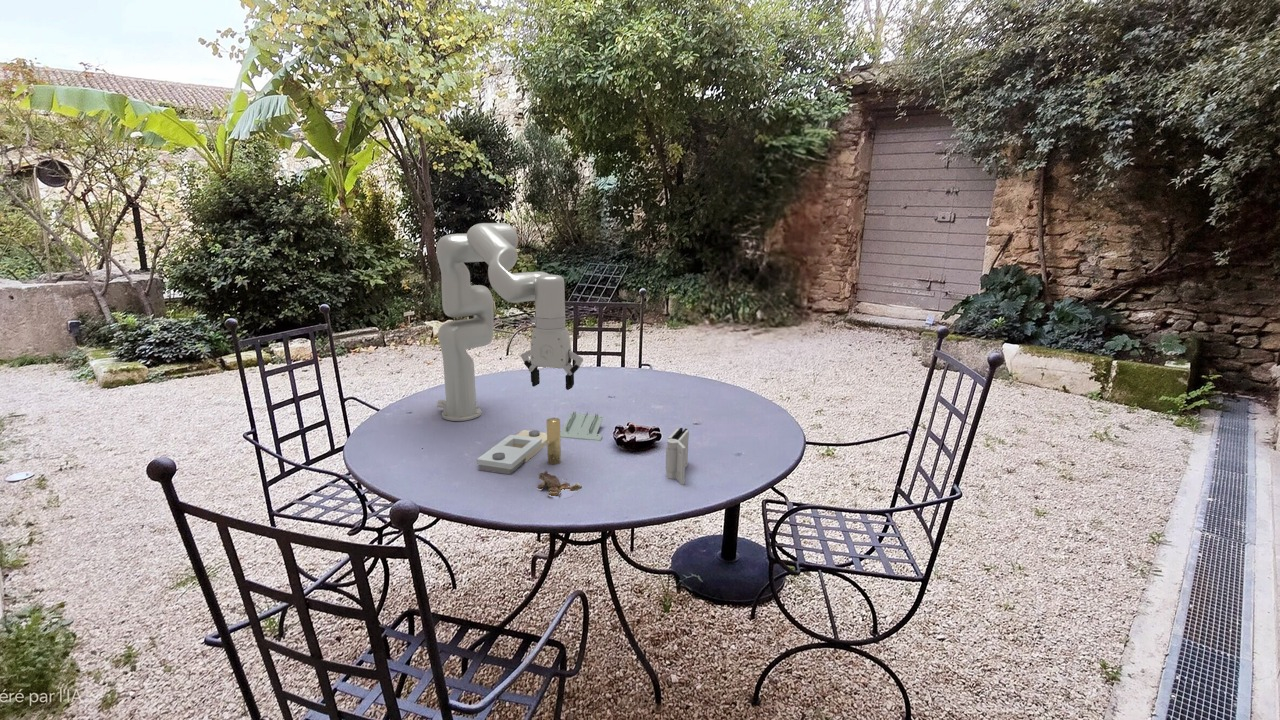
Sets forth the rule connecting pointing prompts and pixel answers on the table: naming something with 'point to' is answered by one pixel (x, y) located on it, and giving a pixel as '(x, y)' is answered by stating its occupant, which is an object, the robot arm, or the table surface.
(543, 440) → the white peg board
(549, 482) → the frog figurine
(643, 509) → the table surface
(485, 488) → the table surface
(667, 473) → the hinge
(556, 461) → the brass pin
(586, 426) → the metal bracket
